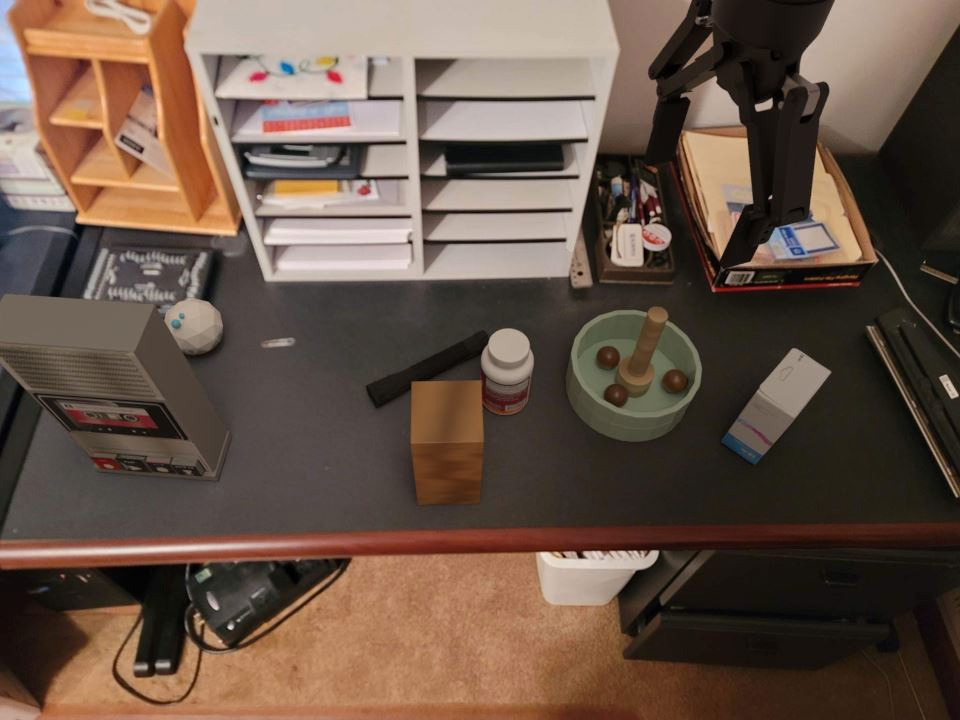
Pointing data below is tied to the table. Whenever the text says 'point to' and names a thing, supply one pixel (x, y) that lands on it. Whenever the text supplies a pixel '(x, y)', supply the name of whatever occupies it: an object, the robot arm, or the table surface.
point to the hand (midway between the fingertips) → (693, 209)
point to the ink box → (775, 405)
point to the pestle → (642, 355)
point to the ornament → (195, 326)
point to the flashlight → (425, 368)
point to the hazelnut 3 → (674, 381)
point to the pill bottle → (506, 372)
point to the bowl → (590, 380)
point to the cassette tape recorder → (114, 384)
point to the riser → (447, 441)
